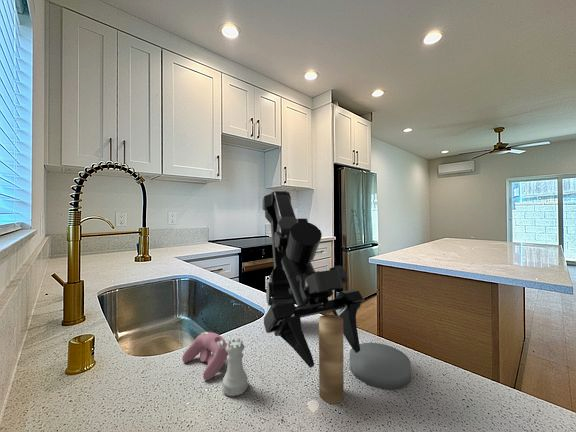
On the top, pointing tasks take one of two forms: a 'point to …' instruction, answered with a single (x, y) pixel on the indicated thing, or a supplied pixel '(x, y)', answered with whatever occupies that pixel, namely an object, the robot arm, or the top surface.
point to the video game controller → (208, 352)
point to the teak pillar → (331, 359)
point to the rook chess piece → (234, 370)
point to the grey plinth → (380, 366)
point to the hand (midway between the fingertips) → (336, 358)
